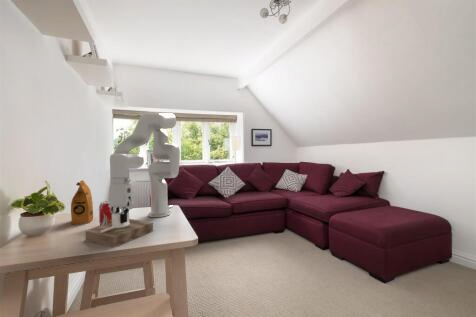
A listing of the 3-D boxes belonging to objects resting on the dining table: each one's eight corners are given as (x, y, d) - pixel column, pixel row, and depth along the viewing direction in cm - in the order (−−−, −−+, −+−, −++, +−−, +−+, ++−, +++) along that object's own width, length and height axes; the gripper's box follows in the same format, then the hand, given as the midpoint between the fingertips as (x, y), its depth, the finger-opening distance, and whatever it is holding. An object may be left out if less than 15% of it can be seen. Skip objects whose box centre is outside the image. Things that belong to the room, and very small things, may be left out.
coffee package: (67, 226, 116) (66, 183, 116) (74, 219, 128) (73, 180, 127) (90, 223, 120) (89, 182, 119) (95, 217, 132) (94, 179, 131)
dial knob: (121, 222, 107) (121, 210, 107) (133, 224, 104) (132, 211, 104) (95, 231, 95) (95, 217, 95) (107, 234, 92) (106, 219, 92)
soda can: (108, 228, 113) (107, 204, 112) (96, 227, 114) (95, 203, 114) (118, 223, 120) (117, 200, 119) (106, 223, 121) (106, 200, 121)
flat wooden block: (126, 226, 115) (126, 217, 115) (153, 231, 108) (152, 222, 108) (85, 240, 97) (85, 230, 97) (114, 247, 90) (114, 236, 90)
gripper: (140, 180, 103) (141, 221, 104) (112, 179, 108) (113, 218, 109) (128, 182, 96) (129, 226, 96) (98, 181, 101) (99, 223, 101)
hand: (120, 221), depth 102 cm, fingers closed on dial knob, 2 cm apart
